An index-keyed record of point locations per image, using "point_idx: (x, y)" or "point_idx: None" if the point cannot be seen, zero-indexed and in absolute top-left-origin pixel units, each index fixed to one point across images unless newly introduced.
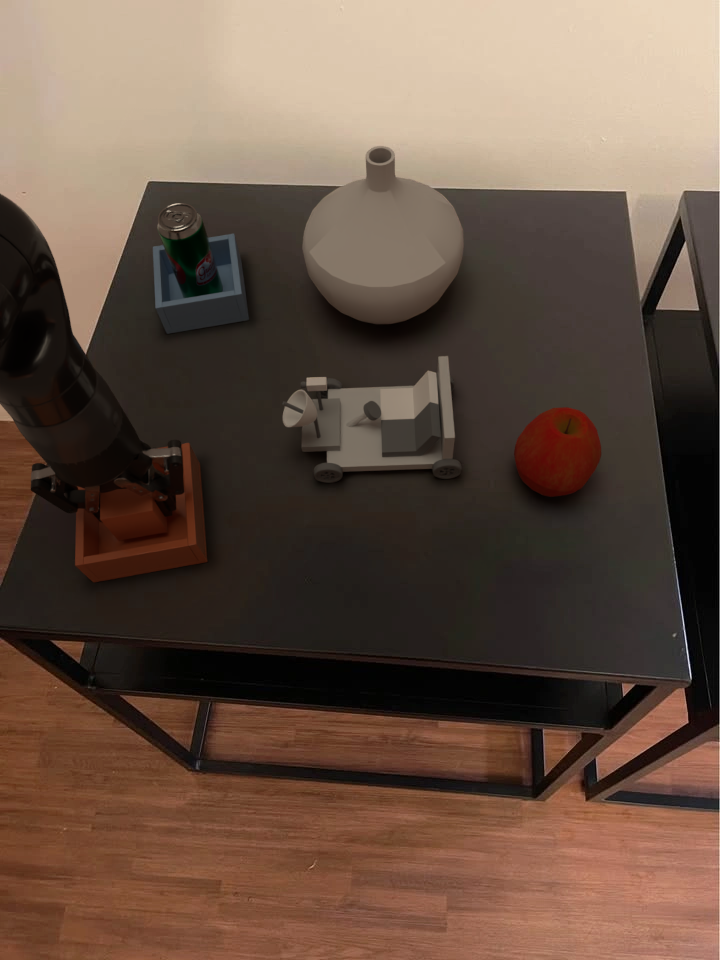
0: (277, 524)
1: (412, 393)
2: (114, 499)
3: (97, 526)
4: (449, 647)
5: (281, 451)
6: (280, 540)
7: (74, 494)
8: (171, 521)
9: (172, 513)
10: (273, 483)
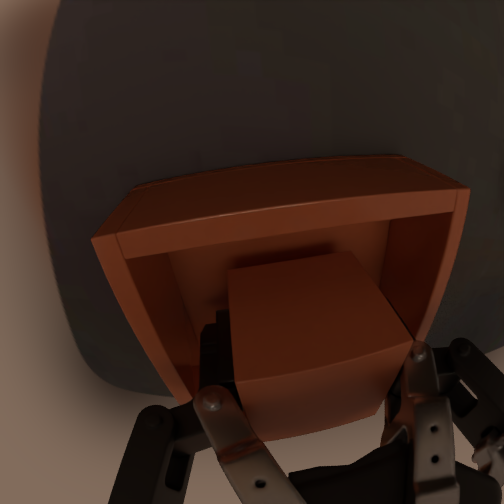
0: (461, 277)
1: None
2: (290, 419)
3: (184, 311)
4: (486, 350)
5: (499, 161)
6: (455, 297)
7: (181, 448)
8: None
9: None
10: (480, 216)
